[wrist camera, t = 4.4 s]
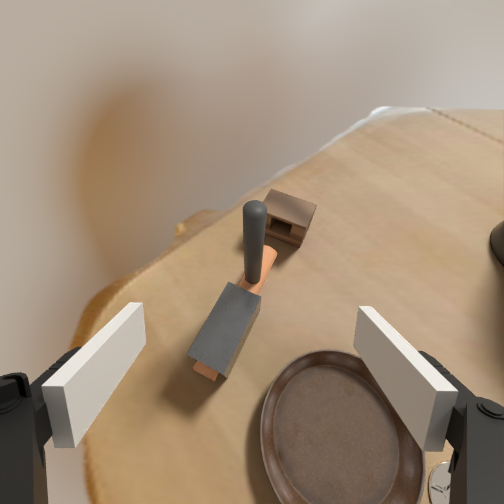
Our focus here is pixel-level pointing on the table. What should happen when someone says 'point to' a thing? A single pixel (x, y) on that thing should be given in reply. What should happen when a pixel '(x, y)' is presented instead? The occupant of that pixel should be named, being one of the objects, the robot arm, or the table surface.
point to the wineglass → (440, 483)
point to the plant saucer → (337, 436)
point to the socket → (287, 217)
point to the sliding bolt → (250, 260)
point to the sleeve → (226, 329)
